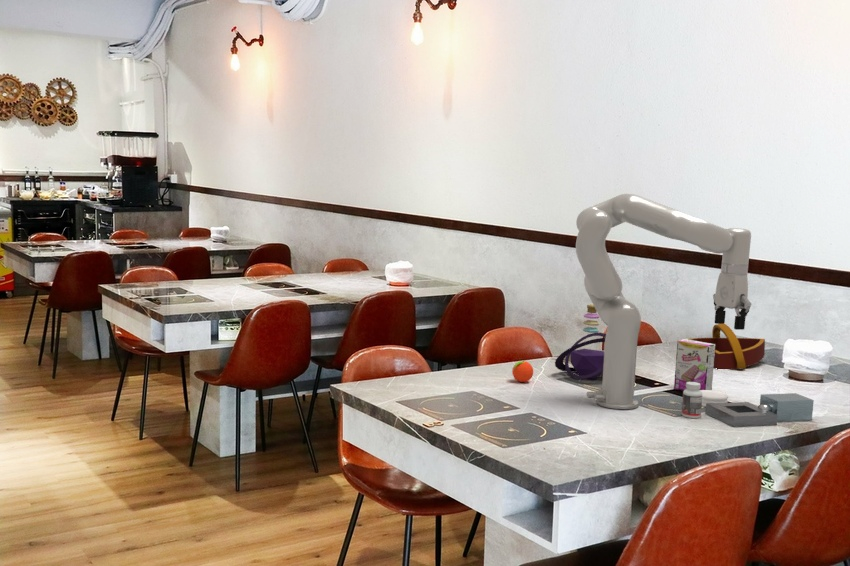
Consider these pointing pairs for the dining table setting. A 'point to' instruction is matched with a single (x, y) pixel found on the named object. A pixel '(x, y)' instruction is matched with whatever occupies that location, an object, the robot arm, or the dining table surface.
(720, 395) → the white round disc
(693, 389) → the pill bottle
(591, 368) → the decorative bottle
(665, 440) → the dining table surface
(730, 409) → the grey tray with housing
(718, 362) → the decorative basket
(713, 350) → the candy bar box
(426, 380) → the dining table surface
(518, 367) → the clementine
